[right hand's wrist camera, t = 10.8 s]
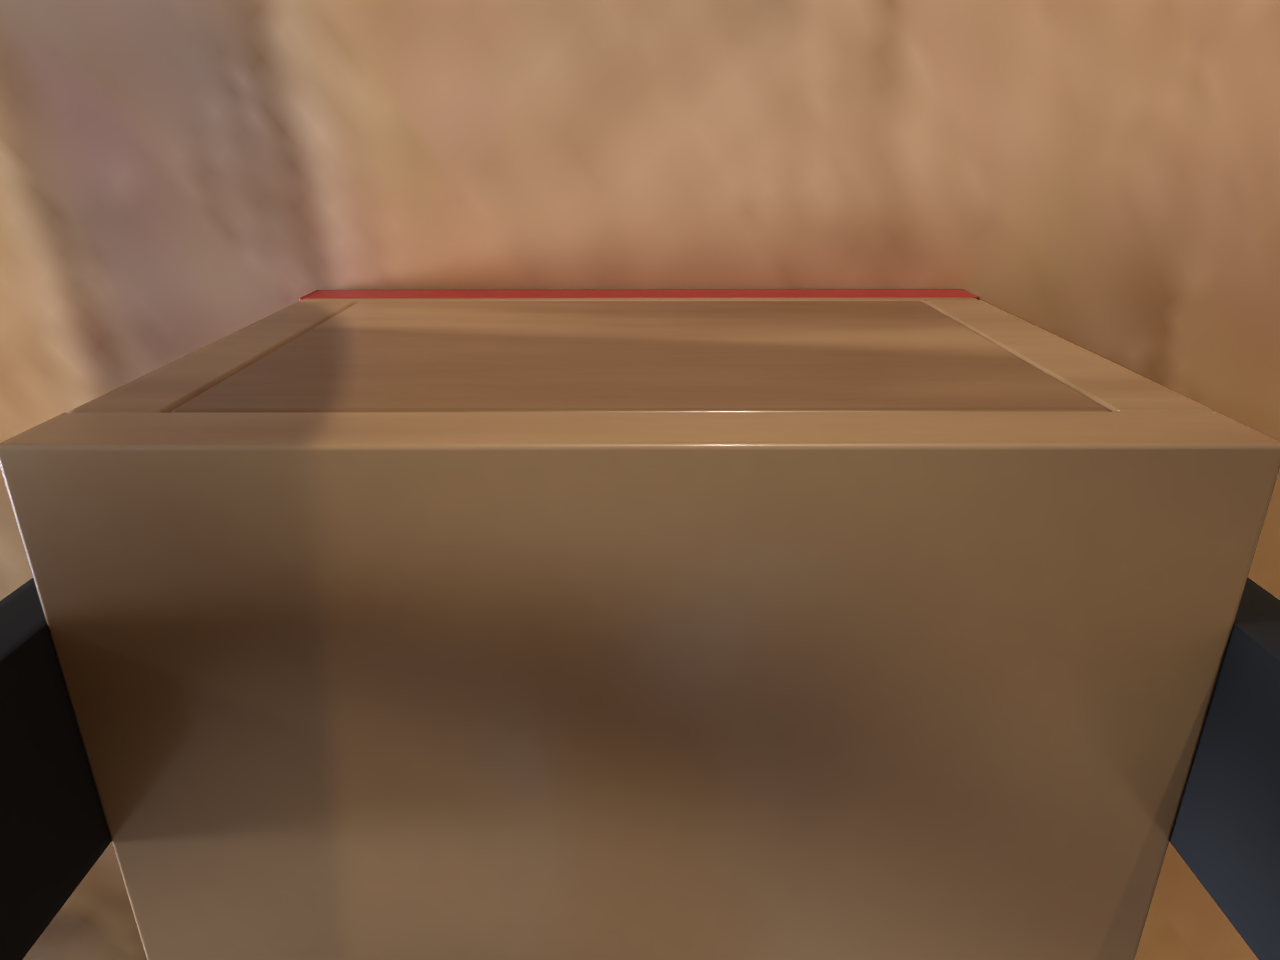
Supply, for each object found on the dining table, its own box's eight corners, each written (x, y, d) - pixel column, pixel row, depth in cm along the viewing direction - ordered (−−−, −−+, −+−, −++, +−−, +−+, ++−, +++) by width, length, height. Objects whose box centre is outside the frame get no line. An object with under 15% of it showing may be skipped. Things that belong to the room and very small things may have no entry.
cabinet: (855, 1072, 23) (963, 1541, 15) (426, 1072, 23) (319, 1542, 15) (962, 289, 15) (1291, 442, 8) (316, 289, 15) (-11, 443, 8)
